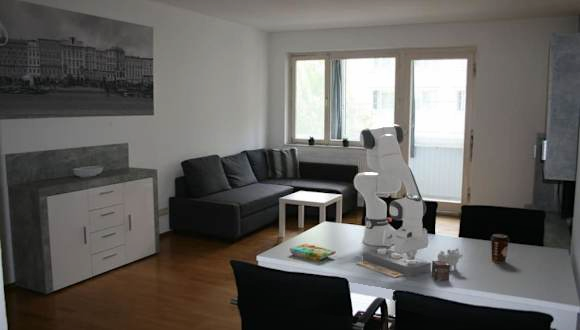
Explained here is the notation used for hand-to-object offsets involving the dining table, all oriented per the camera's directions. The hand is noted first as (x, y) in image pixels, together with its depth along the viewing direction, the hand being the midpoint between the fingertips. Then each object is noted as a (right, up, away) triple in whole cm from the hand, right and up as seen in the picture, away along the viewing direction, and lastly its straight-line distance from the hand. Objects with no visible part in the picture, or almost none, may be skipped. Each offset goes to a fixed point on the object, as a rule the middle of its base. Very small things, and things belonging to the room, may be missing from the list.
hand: (411, 259), depth 237 cm
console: (-6, -4, +7) cm, 10 cm away
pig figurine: (+19, -5, +3) cm, 20 cm away
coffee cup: (+47, -4, +16) cm, 50 cm away
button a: (-11, -1, +14) cm, 18 cm away
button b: (-6, -2, +7) cm, 9 cm away
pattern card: (-14, -5, +1) cm, 15 cm away
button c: (0, -4, 0) cm, 4 cm away
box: (+10, -7, -10) cm, 16 cm away
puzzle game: (-45, -3, +20) cm, 49 cm away
